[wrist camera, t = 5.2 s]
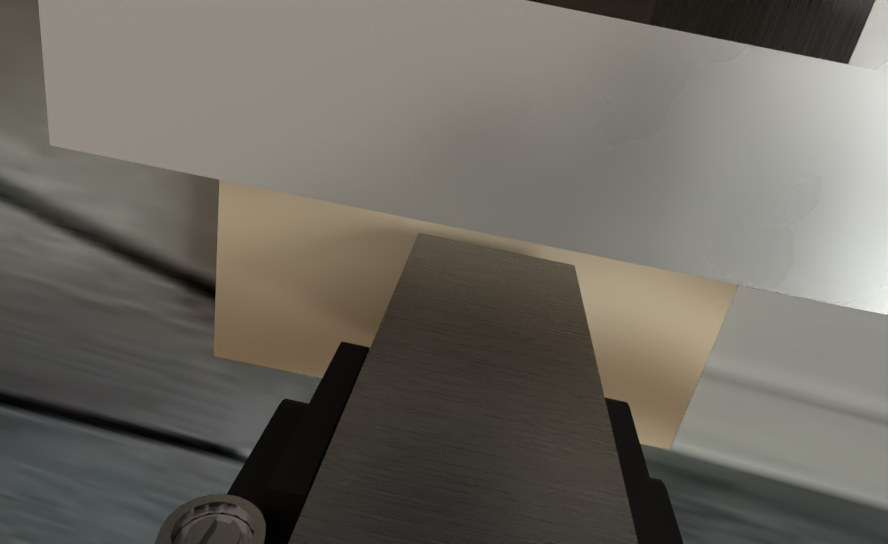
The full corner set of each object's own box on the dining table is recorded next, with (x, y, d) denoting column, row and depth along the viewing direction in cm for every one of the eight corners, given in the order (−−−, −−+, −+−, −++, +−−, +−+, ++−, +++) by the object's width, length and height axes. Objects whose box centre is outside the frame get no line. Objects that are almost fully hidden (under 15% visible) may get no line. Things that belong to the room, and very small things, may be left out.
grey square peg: (539, 399, 17) (608, 1519, 5) (391, 367, 17) (47, 1378, 5) (579, 262, 16) (873, 1444, 3) (415, 227, 16) (-24, 1222, 3)
